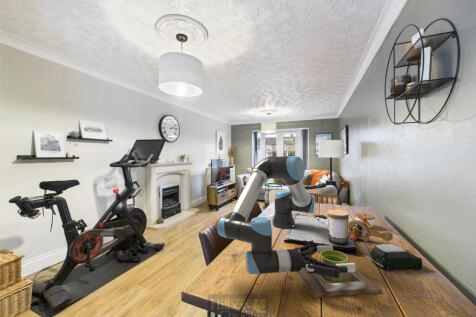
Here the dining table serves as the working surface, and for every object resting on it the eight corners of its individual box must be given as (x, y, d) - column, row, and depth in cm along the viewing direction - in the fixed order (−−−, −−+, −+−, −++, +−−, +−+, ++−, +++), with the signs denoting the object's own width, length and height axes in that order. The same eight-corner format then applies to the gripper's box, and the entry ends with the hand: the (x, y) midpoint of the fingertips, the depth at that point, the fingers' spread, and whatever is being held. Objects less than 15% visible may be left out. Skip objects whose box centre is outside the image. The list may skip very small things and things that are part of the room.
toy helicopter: (351, 234, 117) (351, 211, 117) (395, 246, 101) (394, 220, 100) (345, 238, 112) (345, 214, 111) (390, 251, 95) (390, 223, 95)
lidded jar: (375, 231, 121) (375, 216, 121) (355, 228, 127) (354, 213, 127) (374, 226, 130) (374, 212, 130) (355, 223, 136) (355, 210, 136)
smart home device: (323, 214, 153) (337, 223, 133) (323, 217, 153) (337, 225, 133) (313, 215, 153) (325, 223, 133) (313, 217, 153) (325, 226, 133)
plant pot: (320, 283, 71) (320, 259, 71) (320, 269, 79) (320, 248, 79) (350, 289, 67) (349, 263, 67) (347, 274, 76) (346, 251, 76)
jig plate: (313, 297, 65) (313, 288, 65) (295, 270, 81) (295, 262, 81) (381, 292, 67) (381, 283, 67) (350, 266, 83) (350, 259, 83)
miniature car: (425, 270, 80) (425, 251, 80) (381, 271, 79) (381, 252, 79) (406, 259, 89) (406, 241, 89) (366, 260, 88) (366, 242, 88)
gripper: (278, 254, 85) (325, 251, 87) (301, 293, 60) (366, 289, 62) (278, 236, 85) (325, 234, 87) (301, 269, 60) (366, 265, 62)
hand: (342, 257), depth 74 cm, fingers open, 13 cm apart
